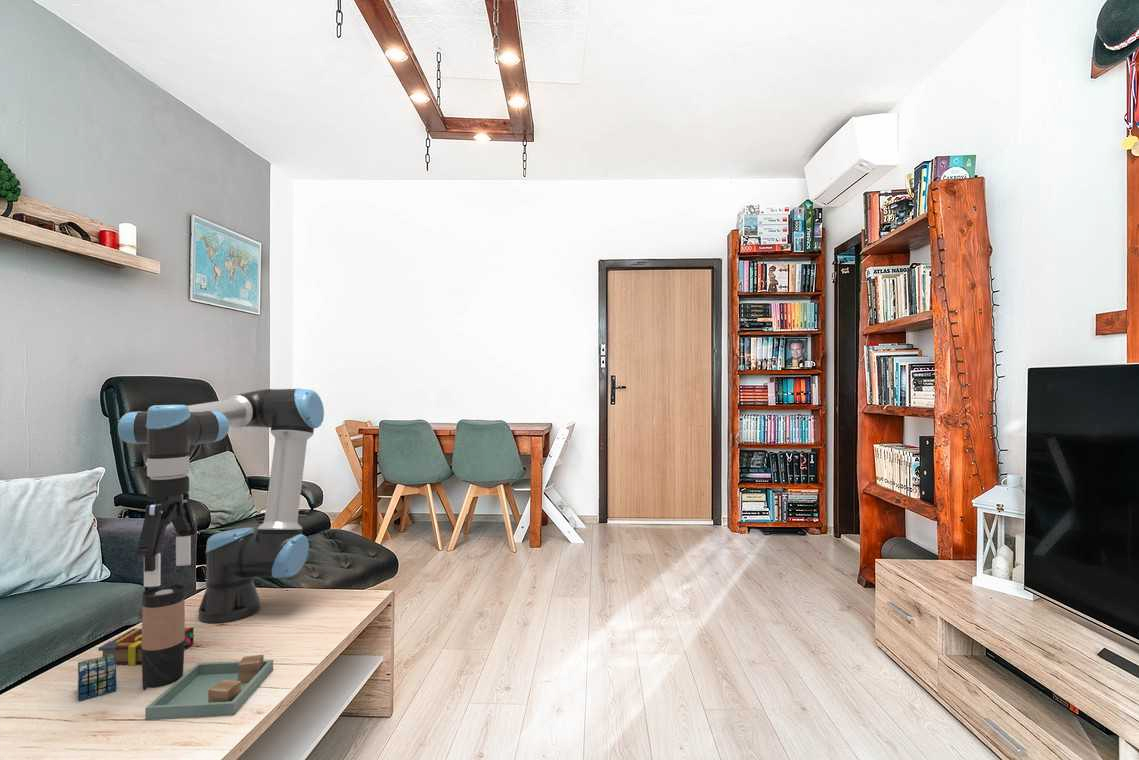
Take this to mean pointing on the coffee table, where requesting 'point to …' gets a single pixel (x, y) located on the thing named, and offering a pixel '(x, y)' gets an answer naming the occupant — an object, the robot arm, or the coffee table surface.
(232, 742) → the coffee table surface
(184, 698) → the tray
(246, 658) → the walnut block
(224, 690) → the walnut block
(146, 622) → the travel mug
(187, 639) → the decorative book
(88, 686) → the puzzle
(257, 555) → the robot arm
